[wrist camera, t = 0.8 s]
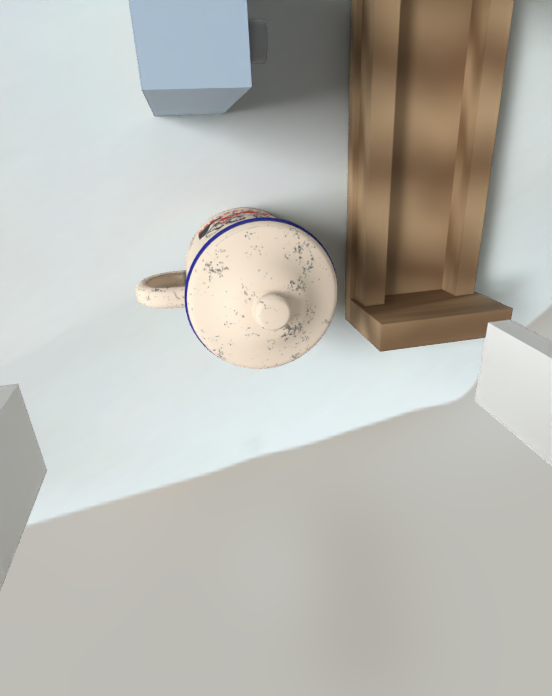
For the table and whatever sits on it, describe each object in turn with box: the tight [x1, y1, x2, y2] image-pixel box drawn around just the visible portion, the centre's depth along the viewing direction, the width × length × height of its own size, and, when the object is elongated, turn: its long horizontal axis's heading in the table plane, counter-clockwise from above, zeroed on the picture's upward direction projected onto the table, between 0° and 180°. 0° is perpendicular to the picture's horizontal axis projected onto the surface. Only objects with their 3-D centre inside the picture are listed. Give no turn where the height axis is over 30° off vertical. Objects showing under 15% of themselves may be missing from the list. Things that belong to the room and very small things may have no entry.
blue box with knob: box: [129, 0, 267, 116], centre depth 22 cm, size 9×6×12 cm, turn 3°
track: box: [345, 0, 514, 352], centre depth 30 cm, size 24×10×7 cm, turn 3°
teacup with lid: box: [136, 208, 337, 369], centre depth 28 cm, size 12×9×12 cm
